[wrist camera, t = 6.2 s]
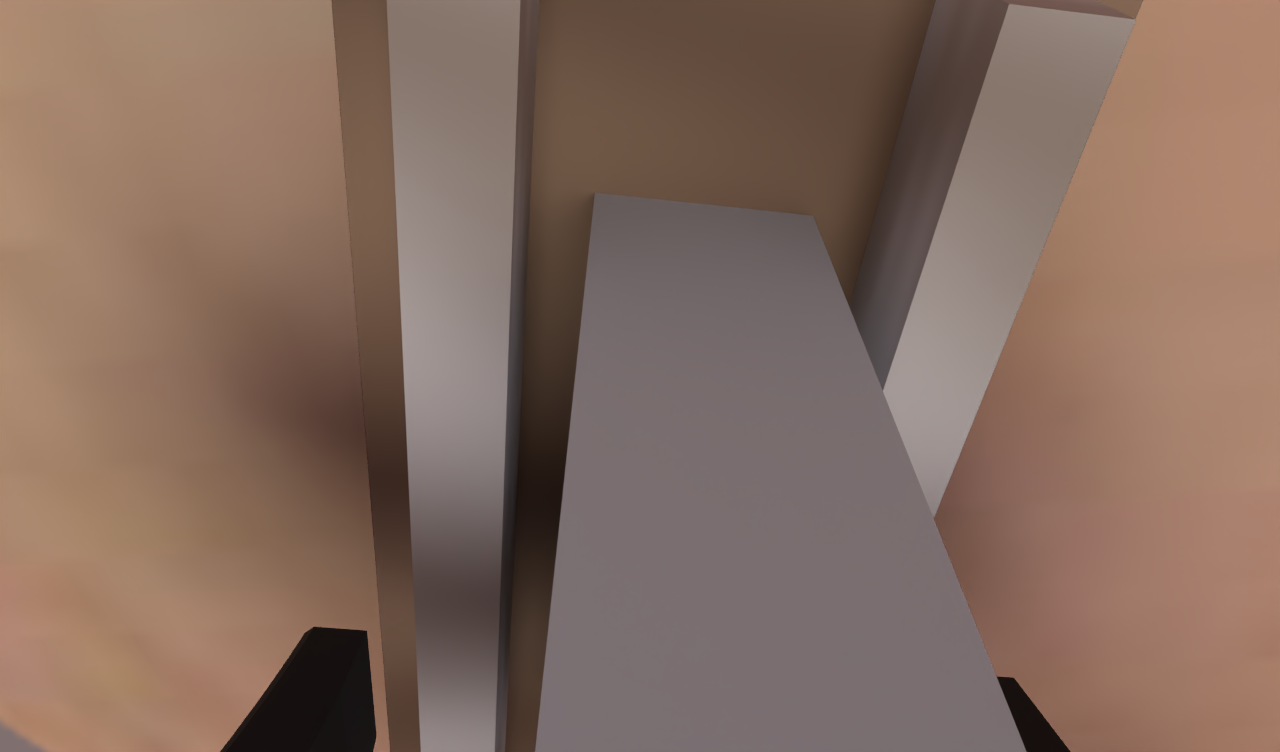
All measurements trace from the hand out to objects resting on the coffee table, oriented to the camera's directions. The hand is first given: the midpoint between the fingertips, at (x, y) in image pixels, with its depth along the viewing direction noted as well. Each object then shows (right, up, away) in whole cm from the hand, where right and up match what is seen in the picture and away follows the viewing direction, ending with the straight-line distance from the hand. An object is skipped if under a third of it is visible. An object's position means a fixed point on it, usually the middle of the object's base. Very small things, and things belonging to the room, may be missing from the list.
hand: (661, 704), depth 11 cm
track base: (0, +2, +5) cm, 5 cm away
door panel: (0, +2, +3) cm, 4 cm away
